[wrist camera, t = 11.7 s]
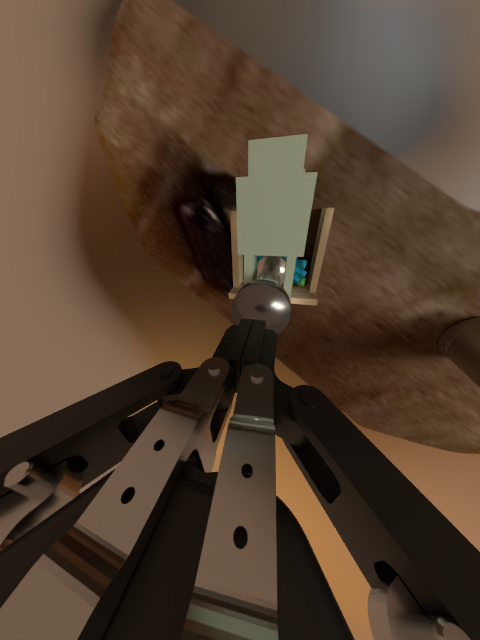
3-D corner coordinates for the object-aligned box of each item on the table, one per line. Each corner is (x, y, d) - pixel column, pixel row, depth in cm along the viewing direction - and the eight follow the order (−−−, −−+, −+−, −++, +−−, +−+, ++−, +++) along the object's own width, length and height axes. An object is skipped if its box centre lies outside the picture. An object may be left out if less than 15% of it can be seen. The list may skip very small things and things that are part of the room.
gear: (240, 256, 32) (267, 232, 23) (256, 232, 33) (289, 200, 24) (281, 293, 35) (320, 285, 26) (295, 270, 36) (337, 255, 27)
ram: (292, 252, 20) (295, 287, 11) (287, 288, 23) (287, 340, 14) (254, 251, 21) (229, 283, 12) (254, 285, 24) (232, 334, 14)
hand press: (304, 170, 25) (326, 120, 11) (292, 261, 32) (296, 301, 18) (263, 173, 26) (234, 132, 12) (259, 260, 33) (239, 297, 19)
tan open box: (328, 208, 26) (339, 207, 21) (311, 288, 33) (316, 305, 28) (236, 210, 29) (223, 210, 24) (238, 284, 36) (229, 298, 30)
